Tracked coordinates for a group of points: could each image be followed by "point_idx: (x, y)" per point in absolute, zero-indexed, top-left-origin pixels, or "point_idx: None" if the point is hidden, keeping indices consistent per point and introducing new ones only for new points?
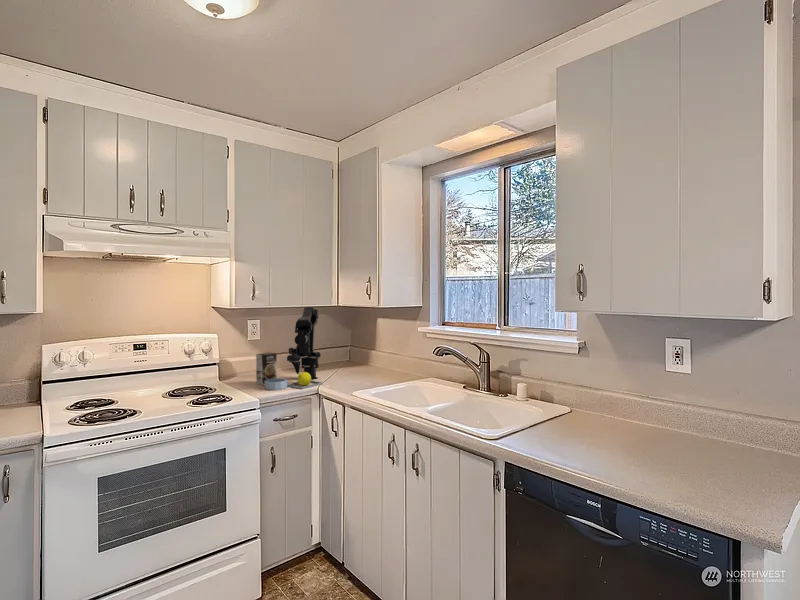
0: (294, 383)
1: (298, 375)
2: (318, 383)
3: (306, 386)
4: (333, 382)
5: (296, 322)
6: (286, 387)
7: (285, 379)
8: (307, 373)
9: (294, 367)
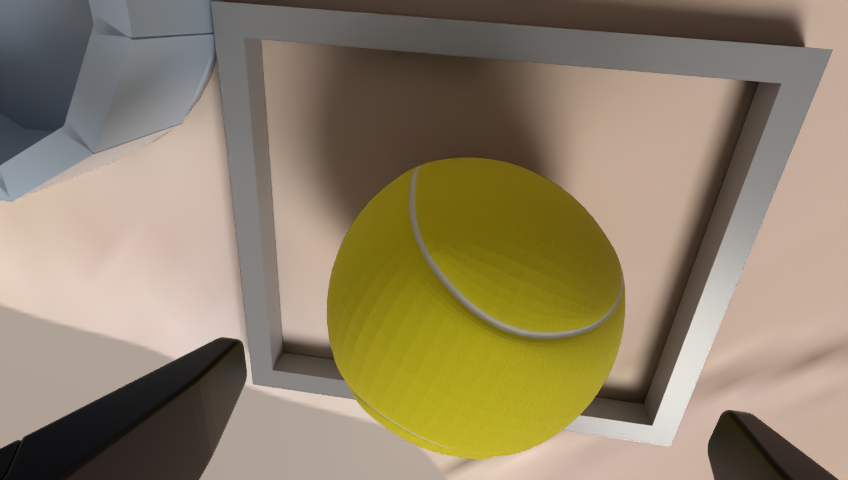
0: (417, 52)
1: (369, 247)
2: (569, 431)
3: (335, 394)
4: (839, 474)
5: None
6: (154, 139)
7: (86, 77)
8: (476, 453)
9: (3, 458)
